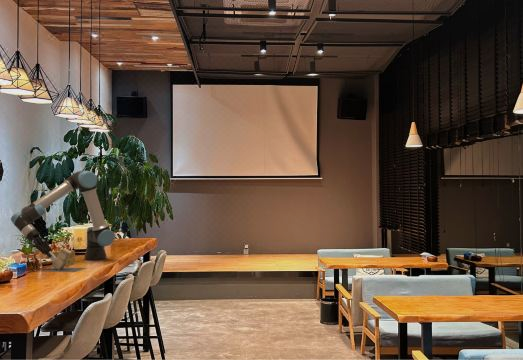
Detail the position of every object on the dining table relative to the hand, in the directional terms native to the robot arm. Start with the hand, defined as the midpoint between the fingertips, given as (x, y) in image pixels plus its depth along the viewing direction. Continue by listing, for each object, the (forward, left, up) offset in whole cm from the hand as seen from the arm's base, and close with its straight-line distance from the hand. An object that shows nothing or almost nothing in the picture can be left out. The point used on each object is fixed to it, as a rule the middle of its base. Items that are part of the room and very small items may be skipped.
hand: (55, 260), depth 308 cm
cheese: (-14, -11, -7) cm, 19 cm away
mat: (-3, +5, -6) cm, 9 cm away
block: (-1, +1, -4) cm, 5 cm away
